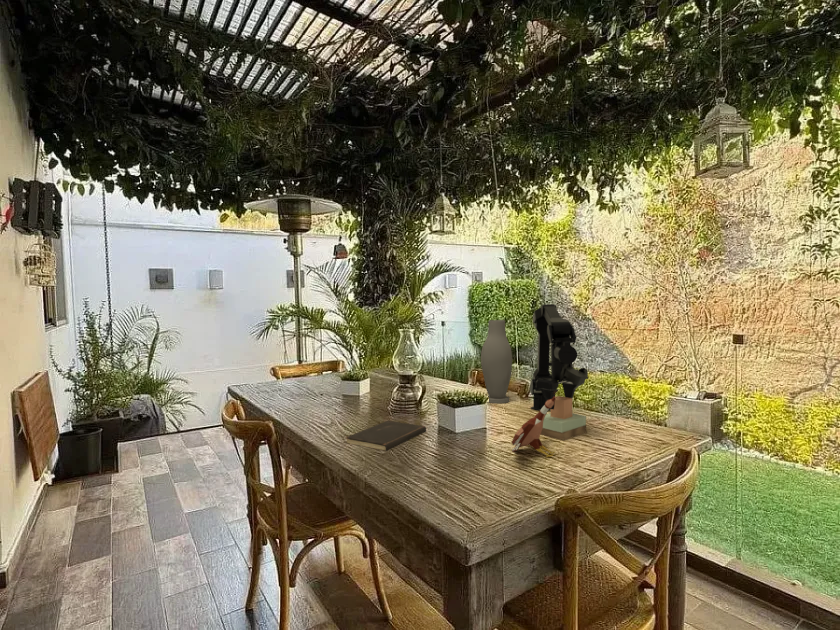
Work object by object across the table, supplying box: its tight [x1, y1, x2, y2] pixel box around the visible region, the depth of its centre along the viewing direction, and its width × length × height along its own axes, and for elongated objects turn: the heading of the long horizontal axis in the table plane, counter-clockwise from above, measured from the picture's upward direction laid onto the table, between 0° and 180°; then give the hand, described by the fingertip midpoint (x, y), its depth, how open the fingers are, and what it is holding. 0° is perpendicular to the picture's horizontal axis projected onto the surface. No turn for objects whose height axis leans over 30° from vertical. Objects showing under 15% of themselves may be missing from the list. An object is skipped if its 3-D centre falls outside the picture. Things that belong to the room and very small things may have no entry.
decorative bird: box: [511, 395, 557, 458], centre depth 133 cm, size 28×18×15 cm, turn 151°
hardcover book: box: [344, 420, 427, 452], centre depth 153 cm, size 16×23×2 cm
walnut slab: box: [540, 424, 587, 441], centre depth 153 cm, size 13×10×3 cm
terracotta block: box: [550, 395, 573, 419], centre depth 153 cm, size 5×5×6 cm
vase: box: [480, 319, 513, 404], centre depth 201 cm, size 13×13×35 cm
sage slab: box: [543, 412, 587, 433], centre depth 153 cm, size 13×10×3 cm
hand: (560, 406), depth 153 cm, fingers open, 9 cm apart
